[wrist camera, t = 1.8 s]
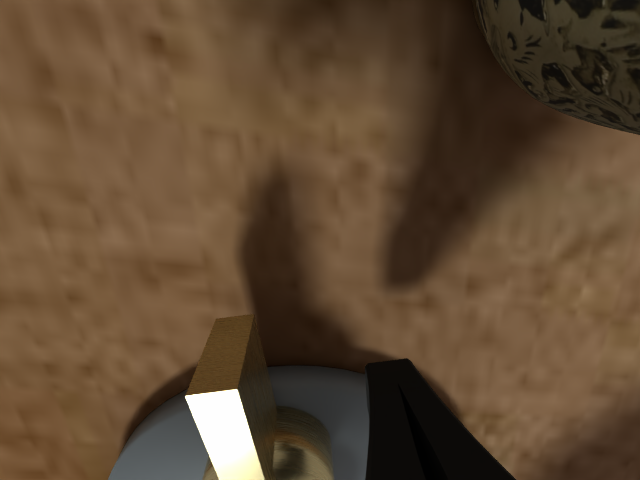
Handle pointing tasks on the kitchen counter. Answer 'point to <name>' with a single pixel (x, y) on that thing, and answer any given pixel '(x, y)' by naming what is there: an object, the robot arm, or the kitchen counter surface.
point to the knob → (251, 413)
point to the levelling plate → (289, 390)
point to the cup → (570, 54)
